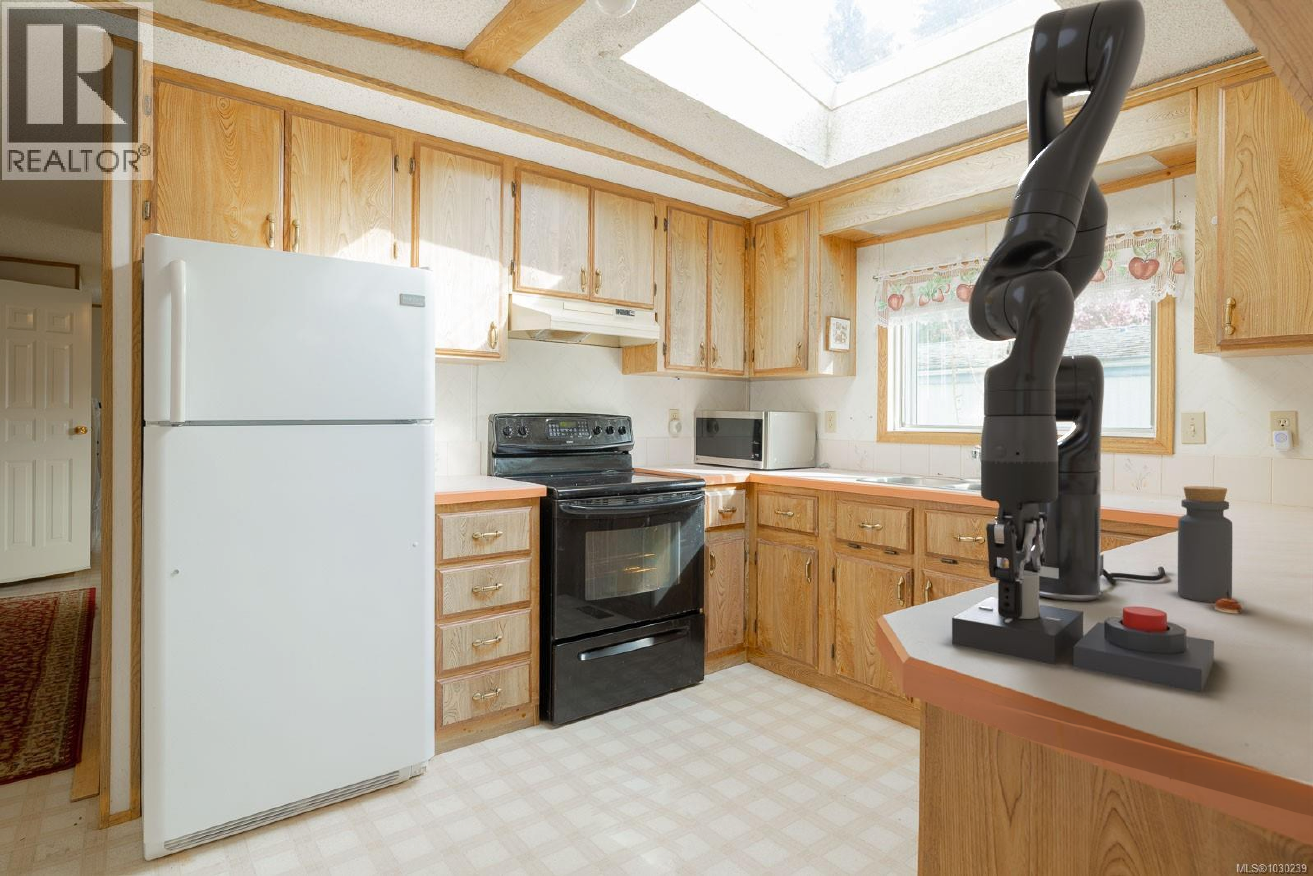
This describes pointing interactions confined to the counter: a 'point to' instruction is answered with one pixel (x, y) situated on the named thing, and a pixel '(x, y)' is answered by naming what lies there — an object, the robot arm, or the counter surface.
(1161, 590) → the counter surface
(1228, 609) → the reddish brown rounded piece
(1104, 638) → the power block
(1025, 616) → the timer knob
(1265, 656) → the counter surface
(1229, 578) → the bottle
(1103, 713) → the counter surface
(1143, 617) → the power button
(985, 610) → the panel
